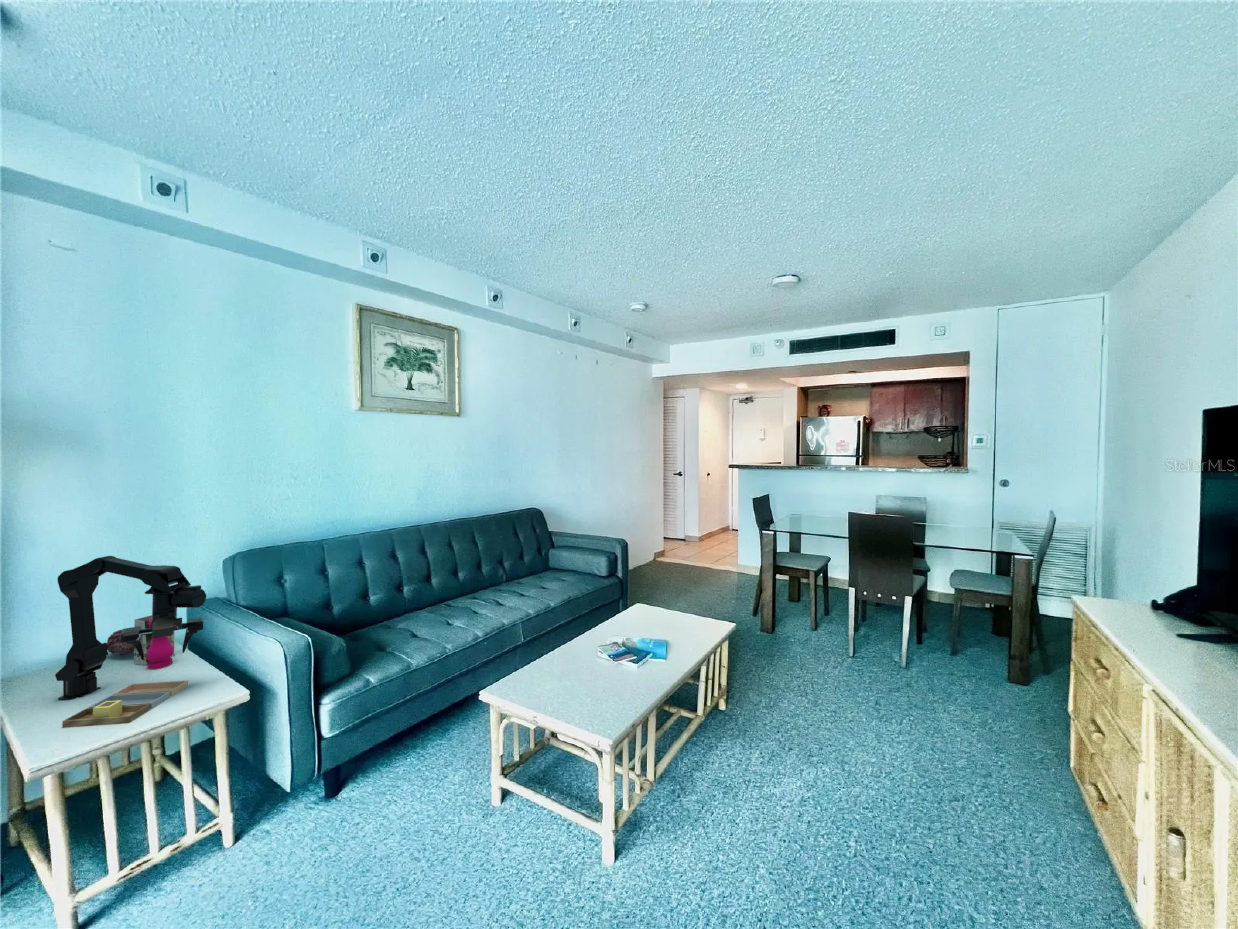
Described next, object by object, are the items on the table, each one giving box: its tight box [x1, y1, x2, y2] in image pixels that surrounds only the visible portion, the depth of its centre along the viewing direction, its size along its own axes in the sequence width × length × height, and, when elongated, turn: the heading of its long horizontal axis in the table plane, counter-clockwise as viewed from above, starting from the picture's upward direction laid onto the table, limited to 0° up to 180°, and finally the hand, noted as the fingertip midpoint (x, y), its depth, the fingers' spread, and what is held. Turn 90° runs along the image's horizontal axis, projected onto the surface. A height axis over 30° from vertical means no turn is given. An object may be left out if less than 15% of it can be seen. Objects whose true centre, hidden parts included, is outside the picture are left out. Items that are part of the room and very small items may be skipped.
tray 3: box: [111, 680, 190, 698], centre depth 149 cm, size 16×7×2 cm, turn 99°
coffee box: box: [133, 614, 175, 666], centre depth 175 cm, size 9×6×16 cm
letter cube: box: [93, 700, 122, 718], centre depth 134 cm, size 4×4×4 cm
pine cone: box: [106, 628, 134, 656], centre depth 178 cm, size 18×10×10 cm, turn 54°
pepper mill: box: [146, 617, 175, 670], centre depth 170 cm, size 7×7×20 cm
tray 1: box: [61, 704, 151, 728], centre depth 134 cm, size 16×7×2 cm, turn 99°
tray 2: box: [88, 692, 171, 710], centre depth 142 cm, size 16×7×2 cm, turn 99°
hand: (163, 656), depth 151 cm, fingers open, 9 cm apart
